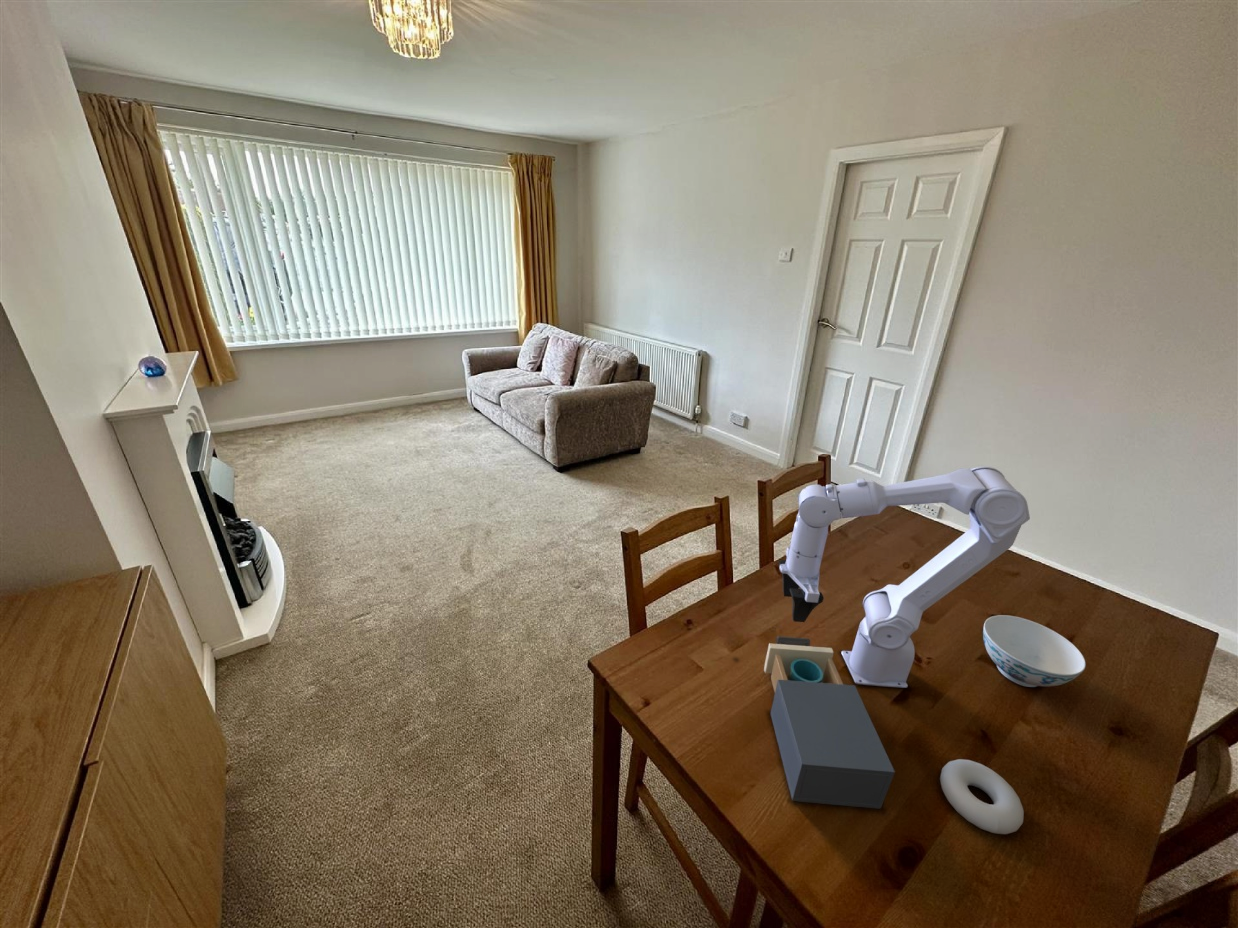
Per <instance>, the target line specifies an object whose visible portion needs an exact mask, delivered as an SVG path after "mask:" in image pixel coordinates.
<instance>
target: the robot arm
mask: <svg viewBox="0 0 1238 928" xmlns="http://www.w3.org/2000/svg"><path fill="white" fill-rule="evenodd" d="M855 481H856V482H851V483H844V484H837V485H833V484H831V483H830V484H826V485H825V486H824V485H823V486H822V485H821V484H810V485H806V487H805V488H803V489H802V490H801V491H800V493H799V494H798V495H797V503H798V513H797V514H796V518H795V522H794V526H793V530H792V536H791V540H790V545H789V546H787V547H786V551H785V556H786V559H780V560H778V565H779V571H780V573H781V577H782V578H781V579H782V591H783V592H782V593H783V596H784V597H785V598H791V600H792V612H791V613H792V614H791V615H792V620H793V622H795V623H796V622H797V623H798V622H799V623H805V622H806V621H807V619H808V617H809V616H810V614H811V613H812V611H813V610H814V609H815V608H816V607H818V606H819V605H820V604H822V603H823V602H824V600H825V599H824V595H823V593H822V592H821V591H819V583H820V573H821V572H820V568H821V563H822V561H823V556H824V551H825V547H826V544H827V538H828V535H829V526H830V525H832V523H834V521H837V520H840V519H850V518H859V517H866V516H877V515H880V514H881V513H882V512H883V511H884V510H885V509H886V508H887V507H897V506H911V505H927V504H942V503H943V504H945V505H947V506H949V507H951V508H953V509H955V510H957V511H959V512H961V513H962V514H964V515H967V516H968V517H969V523H970V525H969V526H970V528H969V529H968V530H967V531H965V532H964V533H963V534H962V535H960V536H959V537H958V538H956V539H955V540H954V541H953V542H951V543H950V544H949V545H948V546H946V547H945V548H944V549H943V550H941V551H940V552H939V553H937V555H935V556H934V557H932V558H931V559H930V560H929V561H927V562H926V563H925V564H923V565H922V566H921V567H920V568H918V570H916V571H915V572H913V573H912V574H911V575H910V576H908V577H907V578H906V579H904V580H903V581H902V582H901V583H900V584H886V586H884V587H883V588H880V589H878V590H877V589H876V590H873V591H870V592H869V593H867V594H866V595H865V596H864V598H863V601H862V606H863V610H864V613H865V616H864V617H863V619H862V620H861V621H860V623H859V626H858V629H857V633H856V636H855V640H854V643H853V646H852V648H851V649H852V650H842V651H840V652H841V655H842V658H843V660H844V662H845V664H846V666H847V669H848V671H849V673H850V675H851V677H852V679H853V682H854V683H855V684H856V685H860V686H861V685H862V686H873V687H874V686H876V687H887V688H902V689H907V688H908V686H909V685H908V683H907V681H908V677H909V675H910V672H911V670H912V666H913V663H914V660H915V655H916V654H915V653H916V652H915V644H914V642H913V640H912V638H911V636H912V634H913V633H914V632H917V630H918V629H919V626H920V623H921V619H922V616H923V613H924V612H925V611H926V610H928V609H929V608H930V607H932V606H933V605H934V604H936V603H937V602H939V601H940V600H941V599H943V598H944V597H946V595H948V594H949V593H950V592H952V591H953V590H955V589H956V588H958V587H959V586H960V585H962V584H963V583H964V582H966V581H967V580H969V579H970V578H971V577H973V576H974V575H975V574H977V573H978V572H980V571H981V570H982V569H984V568H985V567H986V566H988V565H989V564H990V563H992V562H993V561H994V560H996V559H997V558H998V557H1000V556H1001V555H1002V554H1004V553H1005V552H1007V551H1008V550H1009V549H1011V547H1013V545H1014V543H1015V541H1016V539H1017V537H1018V534H1019V532H1020V530H1021V529H1022V526H1023V525H1024V524H1026V523H1027V522H1028V521H1029V520H1030V519H1031V517H1030V511H1029V505H1028V502H1027V501H1028V500H1027V498H1026V497H1025V496H1024V495H1023V494H1022V493H1021V492H1020V491H1018V490H1017V489H1016V488H1015V487H1014V486H1013V484H1011V483H1010V481H1008V480H1007V478H1006V477H1005V475H1004V474H1003V473H1002V472H1001V471H1000V470H998V469H997V468H994V467H991V466H985V465H984V466H982V465H981V466H977V467H973V468H959V469H956V470H954V471H951V472H949V473H945V474H941V475H935V476H930V477H925V478H920V479H919V478H918V479H914V480H913V479H912V480H907V481H902V482H898V483H892V484H891V483H890V484H887V485H881V484H880V483H878V482H876V481H874V480H865V478H857V479H856V480H855Z"/></svg>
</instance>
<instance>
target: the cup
mask: <svg viewBox="0 0 1238 928" xmlns="http://www.w3.org/2000/svg"><path fill="white" fill-rule="evenodd" d="M787 677H788V680H791V681H804V682H817V683H822V679H823V672H822V670H821V668H820V667H819V666H818V665H817V664H815V663H814V662H812V661H810V660H807V659H797V660H794V661H793V662H792V664H791V668H790V672H789V675H788V676H787Z"/></svg>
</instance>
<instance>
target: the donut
mask: <svg viewBox="0 0 1238 928" xmlns="http://www.w3.org/2000/svg"><path fill="white" fill-rule="evenodd" d="M939 781H940V785H941V790H942V792H943V794H944V796H945V798H946V800H947V802H948V803H949V804H950V805H951V806H952V807H953V808H954V810H955V811H956V812H957V813H958V814H959V815H960V816H961V817H963V818H964V819H965V820H966V821H967V822H969V823H971V824H972V825H974V826H976V827H977V828H979V829H980V830H982V831H983V830H984V831H985V832H989V833H992V834H998V835H1008V834H1012V833H1014V832H1017V831H1018V830H1019V829H1020V827H1021V826H1022V825H1023V823H1024V817H1025V816H1024V814H1025V811H1024V808H1023V805H1022V802H1021V799H1020V797H1019V796H1018V794H1017V793H1016V791H1015V790H1014V788H1013V787H1012V786H1011V785H1010V784H1009V783H1008V782H1007V781H1006V780H1005V779H1004V778H1003V776H1001V775H999V774H998V773H997V772H996V771H995V770H993V769H991V768H989V767H988V766H985V765H984V764H983V763H980V762H976V761H973V760H970V759H963V758H962V759H961V758H958V759H955V760H950V761H948V762H947V763H946V764H945V765H944V766H943V767H942V769H941V772H940V777H939ZM968 786H973V787H975V788H977V789H980V790H981V791H982V792H984V793H985V794H986V795H987V796H988V797H989V798H990V799H991V801H992V803H993V804H989V803H987V802H984V801H983V800H981V799H979V798H977V797H976V796H975V795H974V794H973V793H972V792H971V790H970V789H969V787H968Z"/></svg>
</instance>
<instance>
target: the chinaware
mask: <svg viewBox="0 0 1238 928" xmlns="http://www.w3.org/2000/svg"><path fill="white" fill-rule="evenodd" d="M982 638H983V639H982V640H983V644H984V647H985V649H986V652H987V654H988V655H989V657H990V659H991V660H992V662H993V663H994V664H995V665H996V668H997V669H998V671H999V672H1000V673H1001V674H1002V675H1003V676H1004V677H1005V678H1007V679H1008V680H1009V681H1011V682H1012V683H1015V684H1017V685H1020V686H1023V687H1028V688H1036V687H1056V686H1062V685H1064V684H1067V683H1069V682H1071V681H1073V680H1075V679H1076V678H1077V677H1079V676H1080V675H1081V674H1082V673H1083V672H1084V671H1085V669H1086V666H1087V665H1086V663H1087V662H1086V659H1085V657H1084V655H1083V654H1082V653H1081V651H1080V649H1078V648H1077V647H1076V646H1075V645H1074V644H1073V643H1072V642H1071V641H1070V640H1068V639H1067V638H1066V637H1065V636H1063V635H1061V634H1059V633H1058V632H1056V631H1055V630H1053V629H1051V628H1049V627H1047V626H1045V625H1043V624H1040V623H1038V622H1036V621H1032V620H1030V619H1027V618H1024V617H1019V616H1016V615H1015V616H1014V615H1008V614H1007V615H1005V614H1003V615H1002V614H999V615H993V616H990V617H988V618H987V619H986V620H985V621H984V624H983V630H982Z"/></svg>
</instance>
